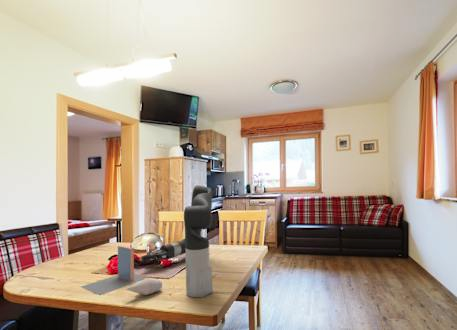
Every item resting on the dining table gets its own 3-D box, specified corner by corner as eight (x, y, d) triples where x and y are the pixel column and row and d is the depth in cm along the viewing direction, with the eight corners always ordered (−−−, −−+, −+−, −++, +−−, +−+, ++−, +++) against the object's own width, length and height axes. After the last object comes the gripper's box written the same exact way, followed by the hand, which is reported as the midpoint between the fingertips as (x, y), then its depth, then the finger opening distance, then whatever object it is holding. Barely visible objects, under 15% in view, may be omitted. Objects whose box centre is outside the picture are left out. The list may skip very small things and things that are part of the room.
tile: (133, 280, 117) (133, 247, 118) (130, 281, 116) (130, 248, 117) (121, 276, 123) (121, 245, 124) (117, 277, 122) (117, 246, 123)
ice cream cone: (122, 301, 97) (159, 295, 107) (129, 293, 94) (166, 288, 104) (120, 285, 100) (156, 281, 110) (127, 277, 98) (163, 273, 108)
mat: (148, 278, 120) (148, 277, 120) (99, 296, 102) (99, 295, 102) (127, 272, 129) (127, 271, 129) (80, 287, 112) (80, 286, 112)
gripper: (162, 242, 145) (134, 249, 131) (179, 245, 137) (151, 252, 124) (162, 256, 145) (134, 264, 131) (179, 259, 137) (151, 269, 123)
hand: (142, 258), depth 127 cm, fingers closed
